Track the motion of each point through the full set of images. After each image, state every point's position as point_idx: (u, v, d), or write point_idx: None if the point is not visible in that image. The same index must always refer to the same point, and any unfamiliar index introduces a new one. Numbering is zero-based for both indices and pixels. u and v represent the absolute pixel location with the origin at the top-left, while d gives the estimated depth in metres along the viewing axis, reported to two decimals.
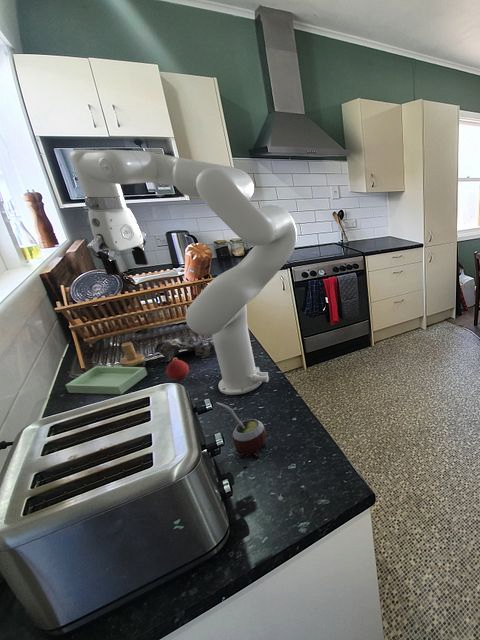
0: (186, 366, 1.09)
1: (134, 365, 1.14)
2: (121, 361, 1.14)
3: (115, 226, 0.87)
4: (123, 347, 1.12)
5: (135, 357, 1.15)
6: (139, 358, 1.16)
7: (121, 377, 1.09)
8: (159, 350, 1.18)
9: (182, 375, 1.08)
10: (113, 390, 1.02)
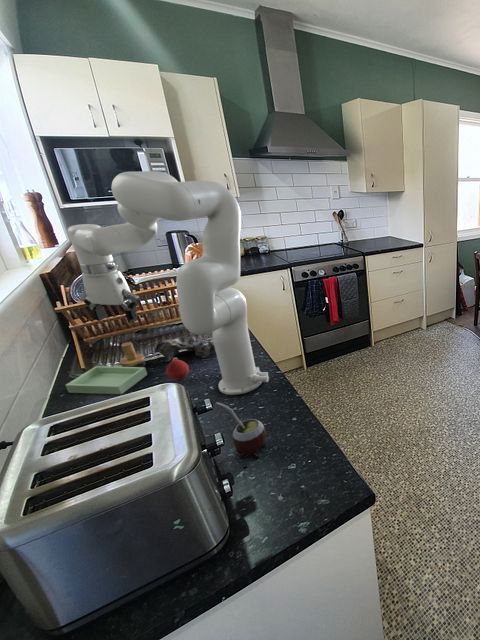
0: (186, 366, 1.09)
1: (134, 365, 1.14)
2: (121, 361, 1.14)
3: None
4: (123, 347, 1.12)
5: (135, 357, 1.15)
6: (139, 358, 1.16)
7: (121, 377, 1.09)
8: (159, 350, 1.18)
9: (182, 375, 1.08)
10: (113, 390, 1.02)
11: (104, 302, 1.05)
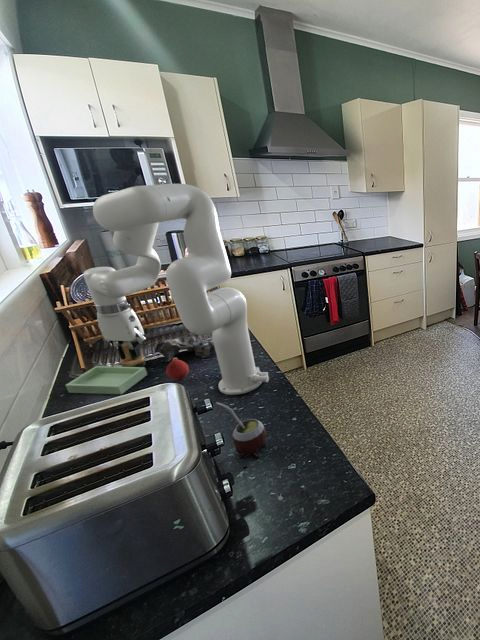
0: (186, 366, 1.09)
1: (134, 365, 1.14)
2: (121, 361, 1.14)
3: None
4: (123, 347, 1.12)
5: None
6: (139, 358, 1.16)
7: (121, 377, 1.09)
8: (159, 350, 1.18)
9: (182, 375, 1.08)
10: (113, 390, 1.02)
11: (118, 338, 1.10)
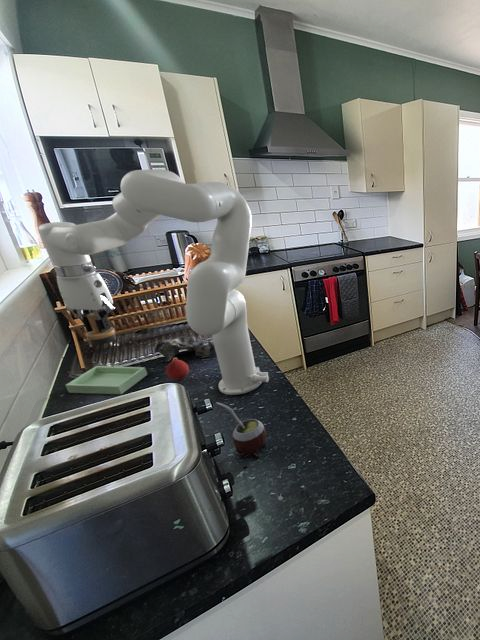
0: (186, 366, 1.09)
1: (101, 338, 1.00)
2: (87, 334, 1.00)
3: None
4: (89, 317, 0.98)
5: None
6: (108, 331, 1.01)
7: (121, 377, 1.09)
8: (159, 350, 1.18)
9: (182, 375, 1.08)
10: (113, 390, 1.02)
11: (82, 307, 0.96)
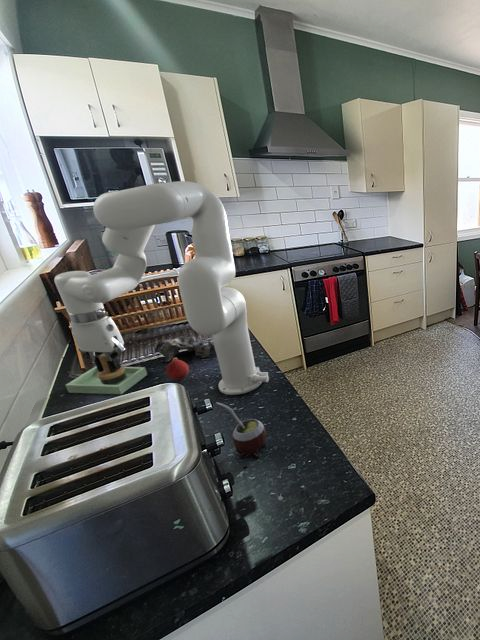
0: (186, 366, 1.09)
1: (112, 378, 1.04)
2: (98, 374, 1.04)
3: None
4: (100, 359, 1.02)
5: None
6: (119, 371, 1.06)
7: None
8: (159, 350, 1.18)
9: (182, 375, 1.08)
10: (113, 390, 1.02)
11: (95, 349, 1.00)
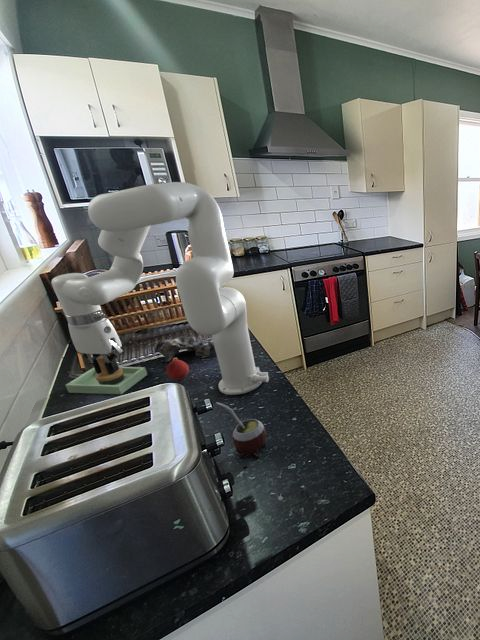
0: (186, 366, 1.09)
1: (110, 380, 1.05)
2: (96, 376, 1.04)
3: None
4: (98, 360, 1.03)
5: None
6: (117, 372, 1.06)
7: None
8: (159, 350, 1.18)
9: (182, 375, 1.08)
10: (113, 390, 1.02)
11: (92, 351, 1.01)
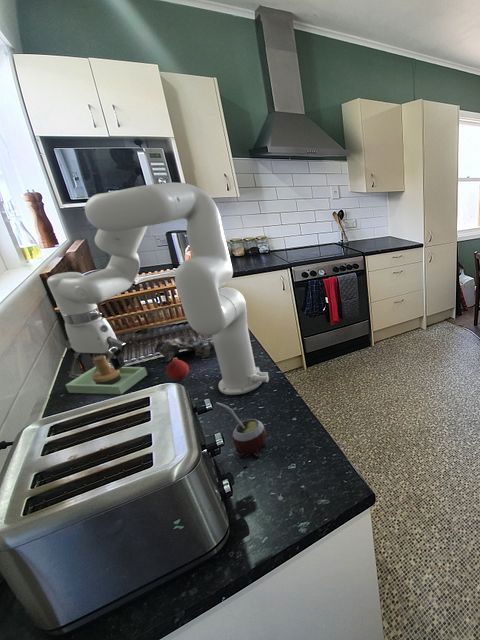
0: (186, 366, 1.09)
1: (107, 380, 1.05)
2: (93, 376, 1.04)
3: None
4: (95, 361, 1.03)
5: (109, 371, 1.06)
6: (114, 373, 1.06)
7: (121, 377, 1.09)
8: (159, 350, 1.18)
9: (182, 375, 1.08)
10: (113, 390, 1.02)
11: (89, 350, 1.00)
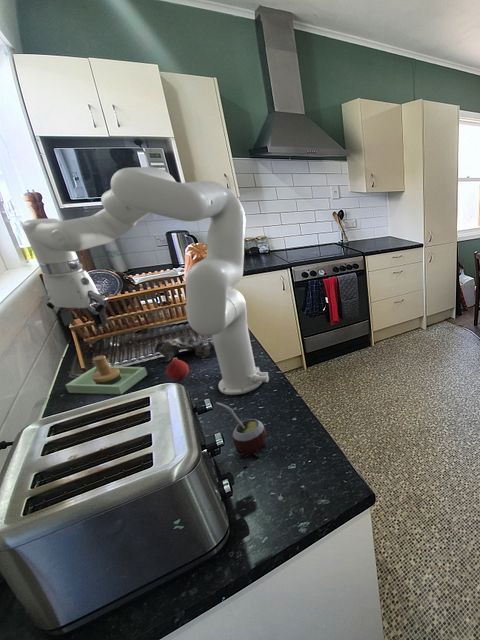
0: (186, 366, 1.09)
1: (107, 380, 1.05)
2: (93, 376, 1.04)
3: None
4: (95, 361, 1.03)
5: (109, 371, 1.06)
6: (114, 373, 1.06)
7: (121, 377, 1.09)
8: (159, 350, 1.18)
9: (182, 375, 1.08)
10: (113, 390, 1.02)
11: (69, 305, 0.94)
